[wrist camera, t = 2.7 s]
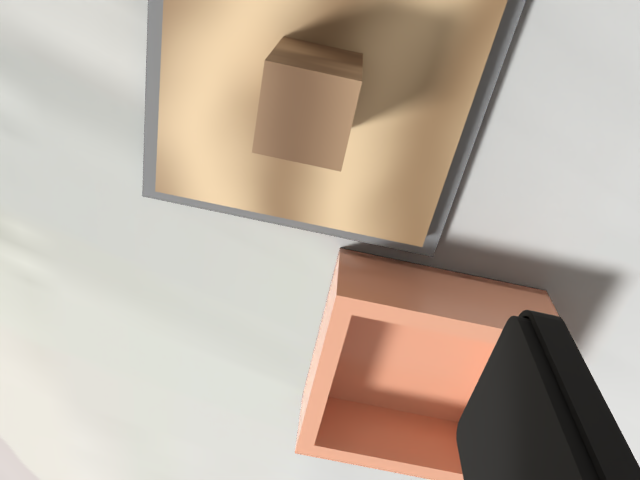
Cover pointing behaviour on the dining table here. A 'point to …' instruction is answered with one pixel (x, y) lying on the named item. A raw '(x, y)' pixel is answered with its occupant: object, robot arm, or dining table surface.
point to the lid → (320, 106)
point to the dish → (402, 362)
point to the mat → (429, 246)
